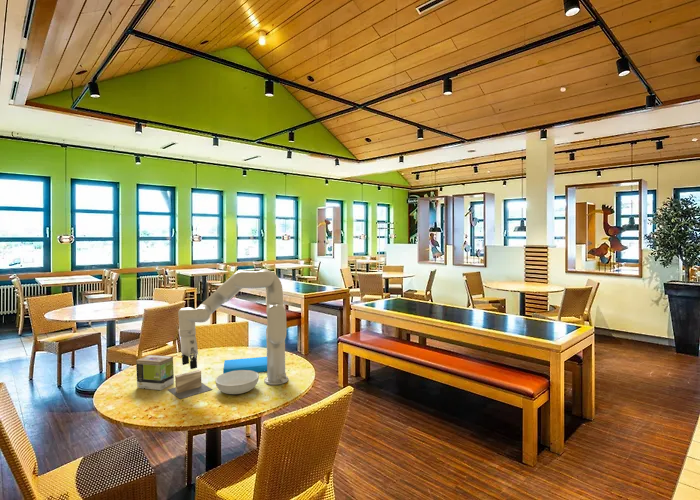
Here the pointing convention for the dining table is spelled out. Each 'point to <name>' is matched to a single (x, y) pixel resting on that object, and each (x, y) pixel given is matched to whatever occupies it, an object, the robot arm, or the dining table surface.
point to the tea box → (155, 372)
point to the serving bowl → (237, 381)
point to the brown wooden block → (188, 381)
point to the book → (246, 364)
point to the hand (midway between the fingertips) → (189, 366)
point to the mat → (190, 391)
